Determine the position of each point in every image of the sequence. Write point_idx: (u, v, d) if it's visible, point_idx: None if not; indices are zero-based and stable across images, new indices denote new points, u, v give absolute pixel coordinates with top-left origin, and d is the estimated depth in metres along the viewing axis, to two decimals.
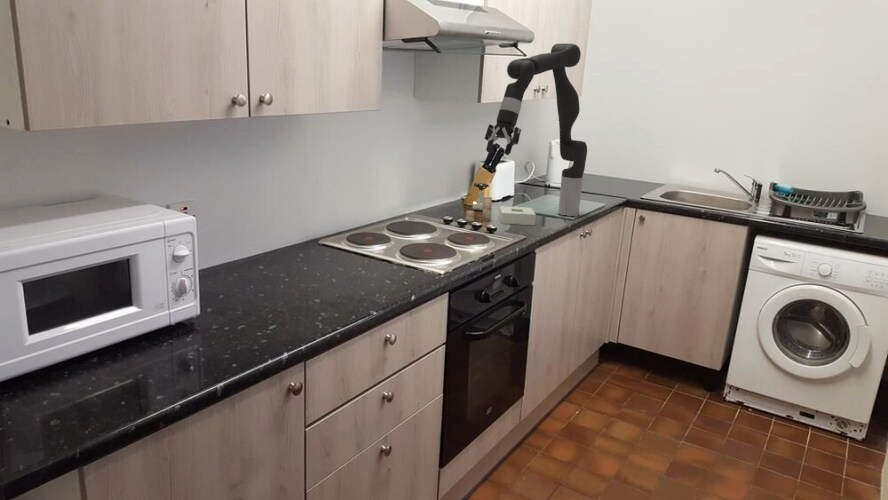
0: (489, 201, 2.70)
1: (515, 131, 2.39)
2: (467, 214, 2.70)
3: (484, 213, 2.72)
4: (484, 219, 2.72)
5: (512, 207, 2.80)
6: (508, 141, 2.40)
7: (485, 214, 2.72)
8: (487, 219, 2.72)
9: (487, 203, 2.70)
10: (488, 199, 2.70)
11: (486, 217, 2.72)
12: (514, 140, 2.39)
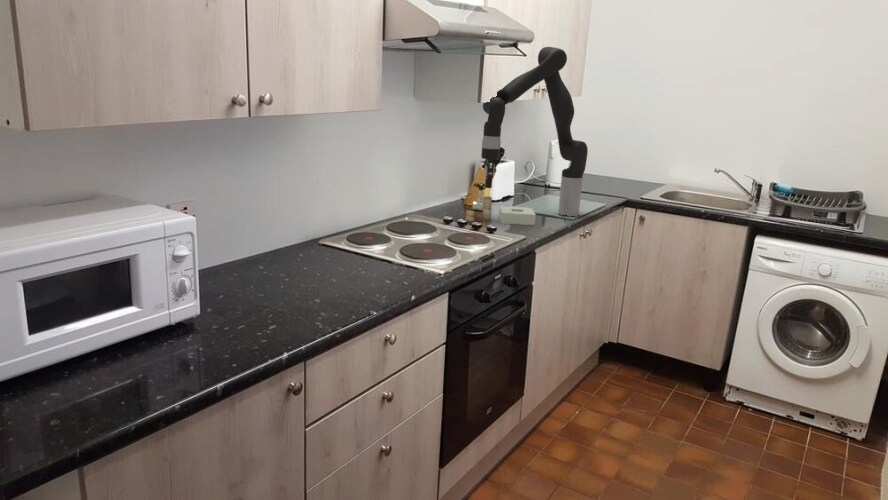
0: (489, 201, 2.70)
1: (487, 167, 2.62)
2: (467, 214, 2.70)
3: (484, 213, 2.72)
4: (484, 219, 2.72)
5: (512, 207, 2.80)
6: (486, 176, 2.65)
7: (485, 214, 2.72)
8: (487, 219, 2.72)
9: (487, 203, 2.70)
10: (488, 199, 2.70)
11: (486, 217, 2.72)
12: (487, 175, 2.62)
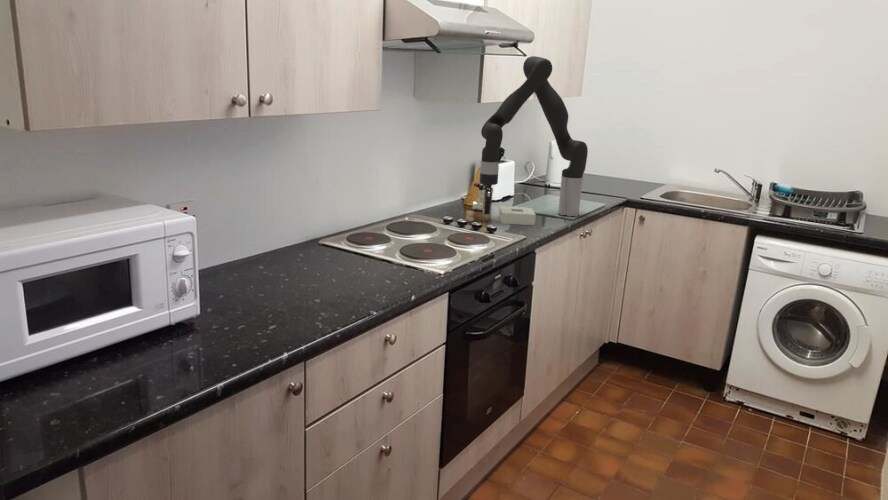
0: None
1: (485, 195, 2.66)
2: (467, 214, 2.70)
3: None
4: (484, 219, 2.72)
5: (512, 207, 2.80)
6: None
7: (485, 214, 2.72)
8: (487, 219, 2.72)
9: None
10: None
11: (486, 217, 2.72)
12: (485, 202, 2.67)
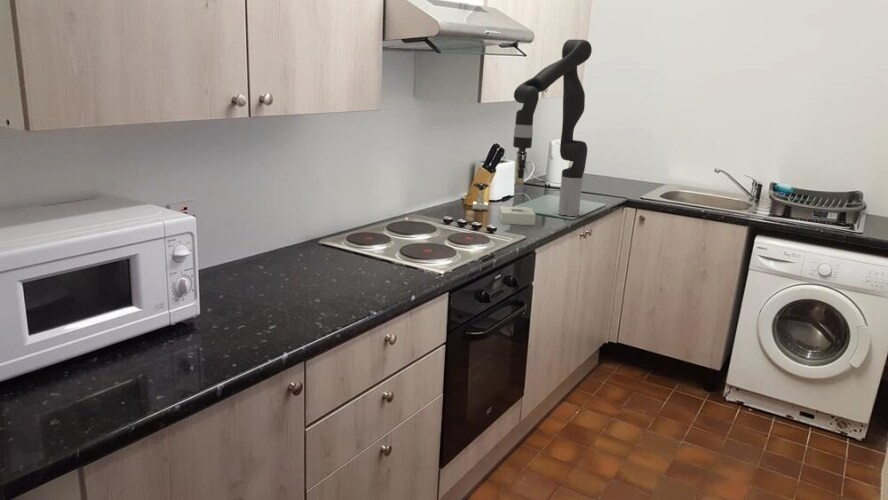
0: None
1: (519, 158, 2.63)
2: (467, 214, 2.70)
3: (517, 177, 2.70)
4: (517, 183, 2.70)
5: (512, 207, 2.80)
6: (518, 166, 2.68)
7: (518, 179, 2.70)
8: (520, 183, 2.70)
9: None
10: None
11: (519, 181, 2.70)
12: (519, 166, 2.65)
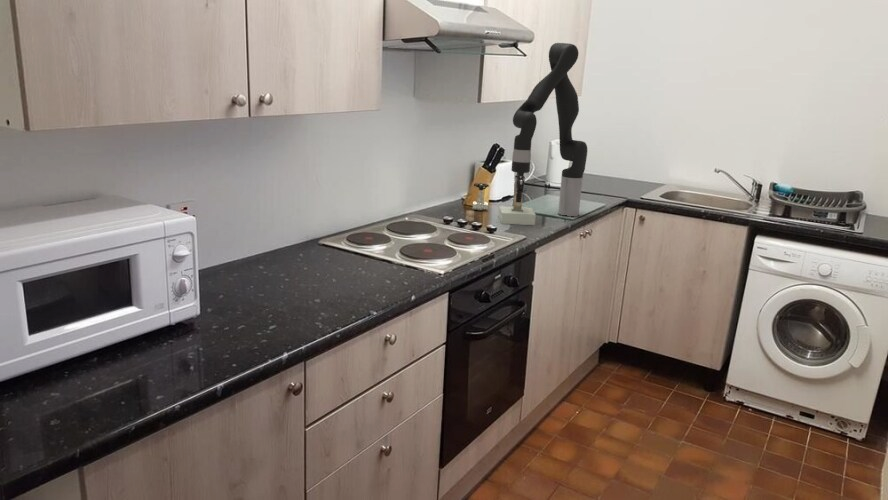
0: None
1: (517, 183, 2.66)
2: (467, 214, 2.70)
3: (515, 201, 2.72)
4: (515, 207, 2.73)
5: (512, 207, 2.80)
6: (516, 191, 2.70)
7: (516, 203, 2.72)
8: (518, 207, 2.73)
9: None
10: None
11: (517, 205, 2.72)
12: (517, 190, 2.68)
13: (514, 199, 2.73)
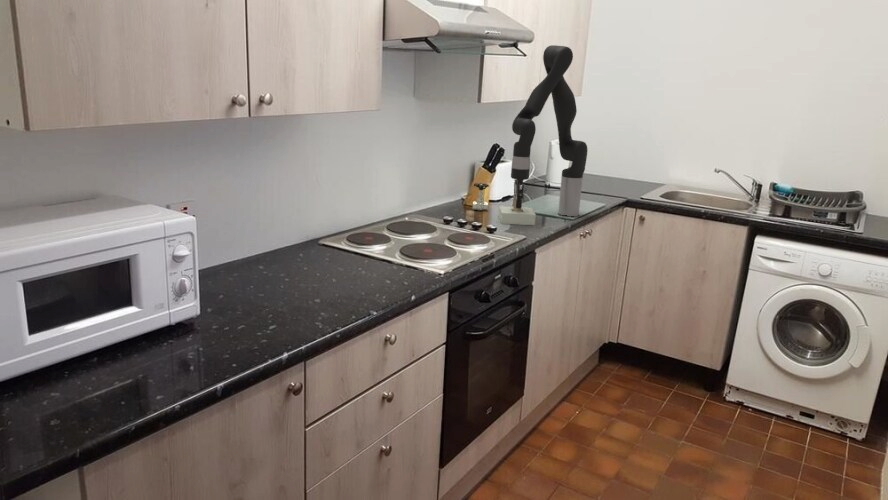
0: None
1: (517, 188, 2.66)
2: (467, 214, 2.70)
3: None
4: None
5: (512, 207, 2.80)
6: (516, 197, 2.69)
7: None
8: None
9: None
10: None
11: None
12: (517, 196, 2.67)
13: None
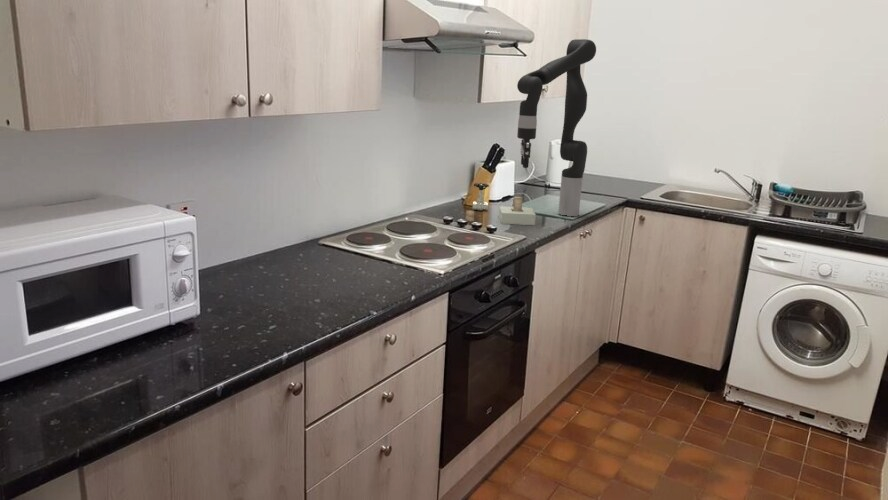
0: (520, 202, 2.72)
1: (524, 146, 2.62)
2: (467, 214, 2.70)
3: None
4: None
5: (512, 207, 2.80)
6: (523, 156, 2.65)
7: None
8: None
9: (518, 204, 2.72)
10: (519, 200, 2.72)
11: None
12: (524, 155, 2.62)
13: None
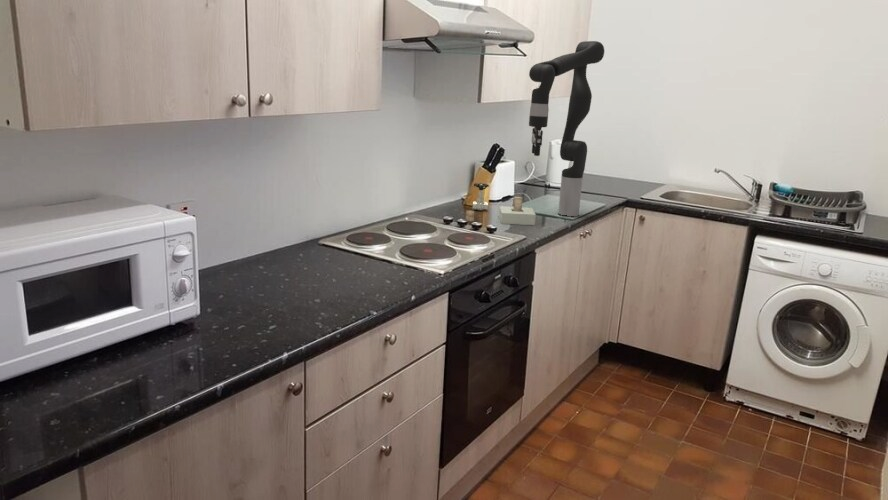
0: (520, 202, 2.72)
1: (536, 134, 2.62)
2: (467, 214, 2.70)
3: None
4: None
5: (512, 207, 2.80)
6: (534, 144, 2.65)
7: None
8: None
9: (518, 204, 2.72)
10: (519, 200, 2.72)
11: None
12: (535, 143, 2.62)
13: None
